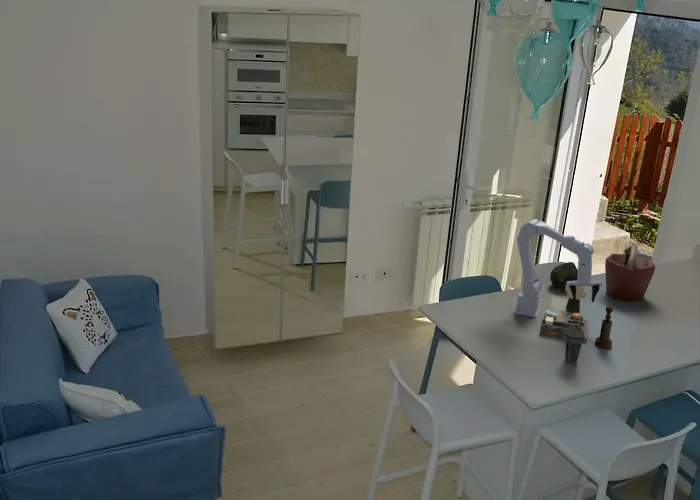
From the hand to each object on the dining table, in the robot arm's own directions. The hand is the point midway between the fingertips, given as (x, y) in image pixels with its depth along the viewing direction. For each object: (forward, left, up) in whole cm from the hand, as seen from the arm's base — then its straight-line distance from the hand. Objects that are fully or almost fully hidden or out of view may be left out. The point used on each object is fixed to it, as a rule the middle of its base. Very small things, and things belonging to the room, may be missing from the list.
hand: (583, 301), depth 304 cm
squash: (-10, +46, -12) cm, 48 cm away
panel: (-6, -6, -12) cm, 15 cm away
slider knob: (-13, -12, -10) cm, 20 cm away
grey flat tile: (-13, 0, -8) cm, 15 cm away
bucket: (+20, +49, -12) cm, 54 cm away
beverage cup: (-2, -37, -12) cm, 39 cm away
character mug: (-4, +18, -12) cm, 22 cm away
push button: (-2, 0, -8) cm, 8 cm away
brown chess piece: (+10, -16, -12) cm, 23 cm away
